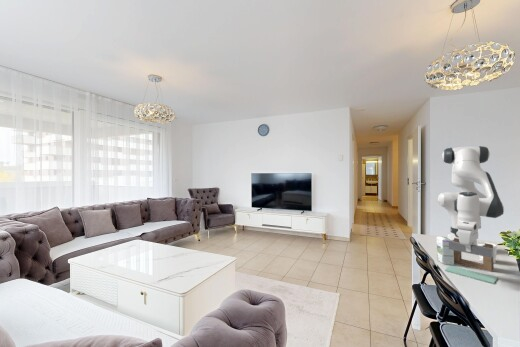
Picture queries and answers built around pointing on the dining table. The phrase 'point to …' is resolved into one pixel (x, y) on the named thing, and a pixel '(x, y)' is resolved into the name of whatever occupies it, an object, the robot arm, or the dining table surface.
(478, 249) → the rail
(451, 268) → the mat
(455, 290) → the dining table surface
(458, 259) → the rack
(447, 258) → the syrup box
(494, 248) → the white cup
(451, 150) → the robot arm
